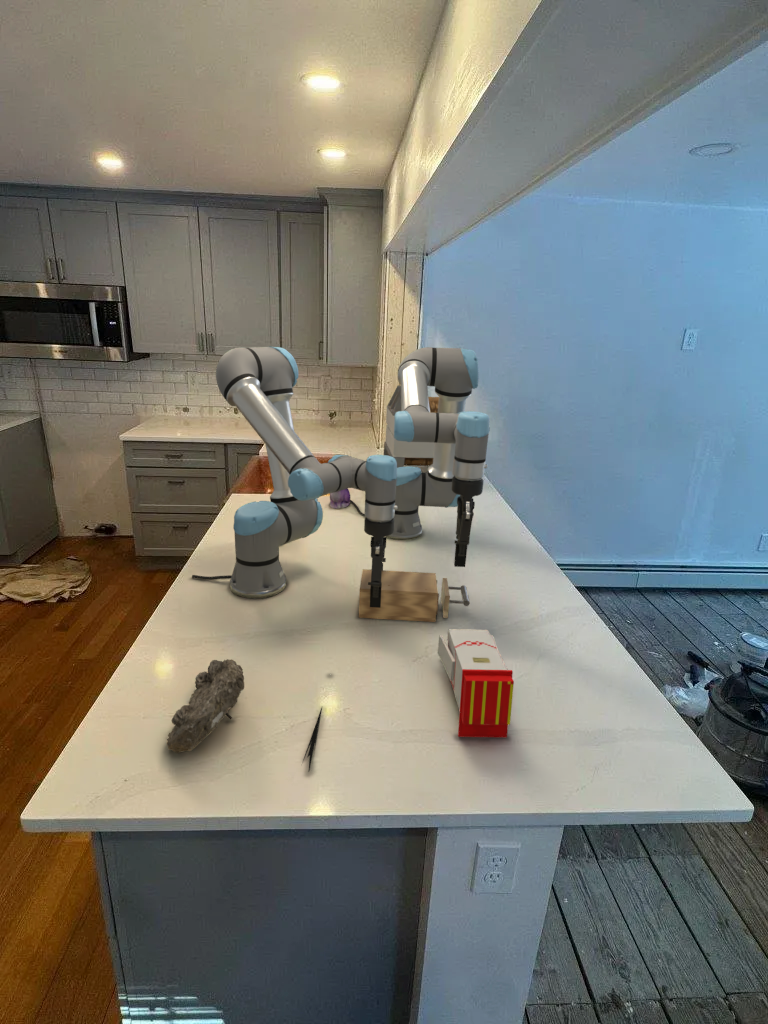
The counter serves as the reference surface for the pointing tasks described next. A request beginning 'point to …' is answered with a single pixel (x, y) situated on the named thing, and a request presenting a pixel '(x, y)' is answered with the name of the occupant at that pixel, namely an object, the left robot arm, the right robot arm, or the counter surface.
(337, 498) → the figurine
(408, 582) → the wooden drawer box
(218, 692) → the fossil
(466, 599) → the drawer
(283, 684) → the counter surface
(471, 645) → the toy
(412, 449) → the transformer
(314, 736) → the feather
